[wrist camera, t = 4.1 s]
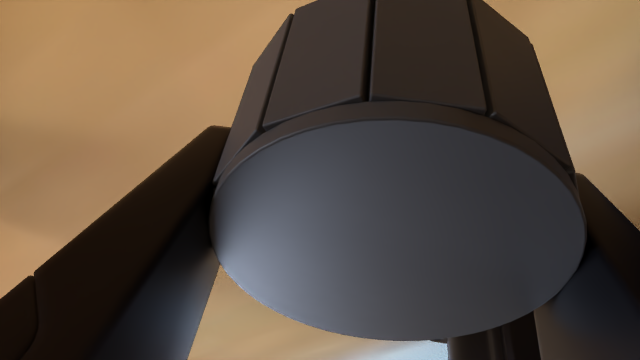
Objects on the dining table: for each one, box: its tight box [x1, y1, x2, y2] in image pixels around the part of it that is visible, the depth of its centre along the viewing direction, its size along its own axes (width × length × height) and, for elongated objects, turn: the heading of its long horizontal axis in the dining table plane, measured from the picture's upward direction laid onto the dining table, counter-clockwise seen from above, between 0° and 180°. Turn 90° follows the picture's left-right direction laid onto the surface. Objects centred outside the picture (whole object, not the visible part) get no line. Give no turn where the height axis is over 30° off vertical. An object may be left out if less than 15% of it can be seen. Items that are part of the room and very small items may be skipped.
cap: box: [208, 0, 587, 341], centre depth 8 cm, size 5×5×3 cm
